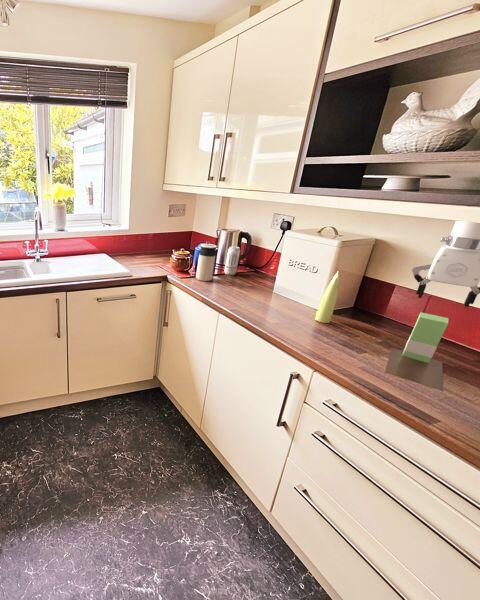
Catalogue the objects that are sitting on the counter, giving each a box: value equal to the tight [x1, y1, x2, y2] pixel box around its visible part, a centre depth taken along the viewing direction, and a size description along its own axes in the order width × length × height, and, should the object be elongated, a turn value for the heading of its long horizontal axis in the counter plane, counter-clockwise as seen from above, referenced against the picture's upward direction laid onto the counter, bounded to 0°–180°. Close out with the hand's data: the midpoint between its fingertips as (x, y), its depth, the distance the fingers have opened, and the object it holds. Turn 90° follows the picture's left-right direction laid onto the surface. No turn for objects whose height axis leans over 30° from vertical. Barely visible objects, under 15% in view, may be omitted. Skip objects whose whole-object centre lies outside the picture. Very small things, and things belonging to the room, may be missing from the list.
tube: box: [314, 271, 340, 324], centre depth 127 cm, size 6×5×20 cm
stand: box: [384, 347, 444, 392], centre depth 100 cm, size 12×20×1 cm, turn 135°
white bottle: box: [224, 245, 241, 276], centre depth 182 cm, size 6×6×15 cm
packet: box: [403, 312, 449, 363], centre depth 102 cm, size 6×14×4 cm
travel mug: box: [195, 243, 217, 282], centre depth 173 cm, size 8×8×18 cm
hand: (442, 301), depth 99 cm, fingers open, 9 cm apart
